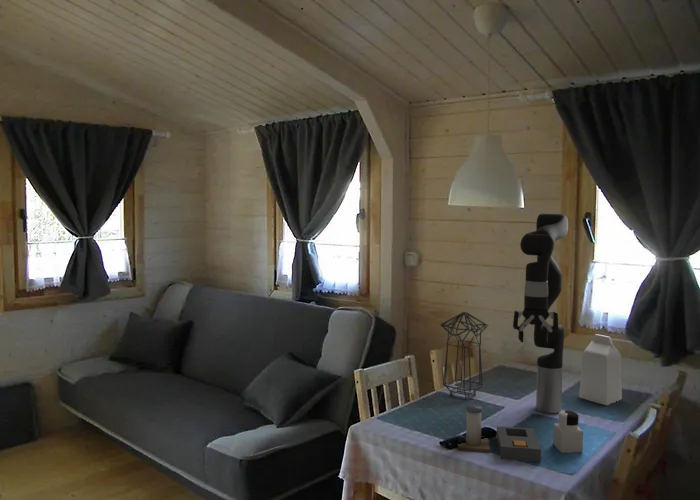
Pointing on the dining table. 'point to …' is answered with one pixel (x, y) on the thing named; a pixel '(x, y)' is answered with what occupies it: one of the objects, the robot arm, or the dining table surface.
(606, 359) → the milk
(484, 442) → the walnut pad
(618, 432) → the dining table surface
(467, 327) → the geometric lantern
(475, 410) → the cylinder
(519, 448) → the block
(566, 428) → the medicine bottle
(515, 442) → the orange cardboard box
